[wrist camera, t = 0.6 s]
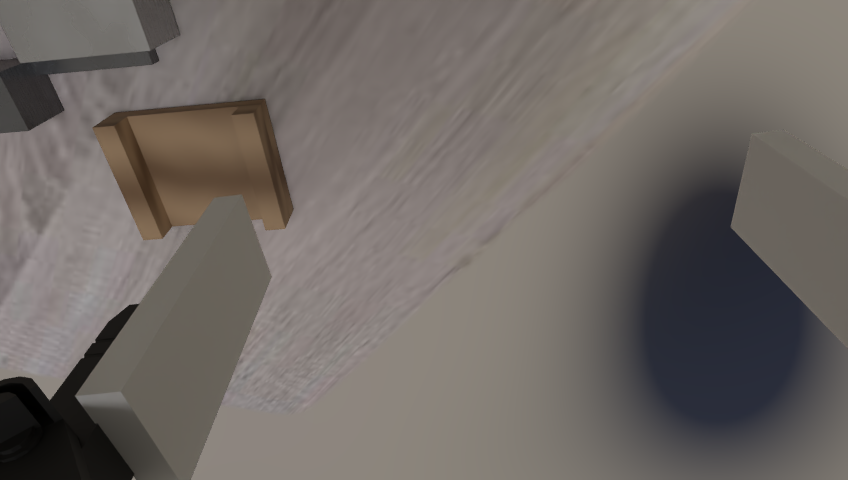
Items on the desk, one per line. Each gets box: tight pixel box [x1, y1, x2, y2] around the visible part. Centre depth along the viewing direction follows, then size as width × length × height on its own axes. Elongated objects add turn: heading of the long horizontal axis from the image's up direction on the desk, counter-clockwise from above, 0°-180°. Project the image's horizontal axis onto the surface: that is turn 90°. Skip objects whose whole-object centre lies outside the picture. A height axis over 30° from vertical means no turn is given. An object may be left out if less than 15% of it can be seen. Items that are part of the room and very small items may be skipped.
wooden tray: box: [93, 99, 293, 240], centre depth 38 cm, size 9×11×3 cm
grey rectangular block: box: [0, 0, 180, 63], centre depth 32 cm, size 4×8×4 cm, turn 95°
